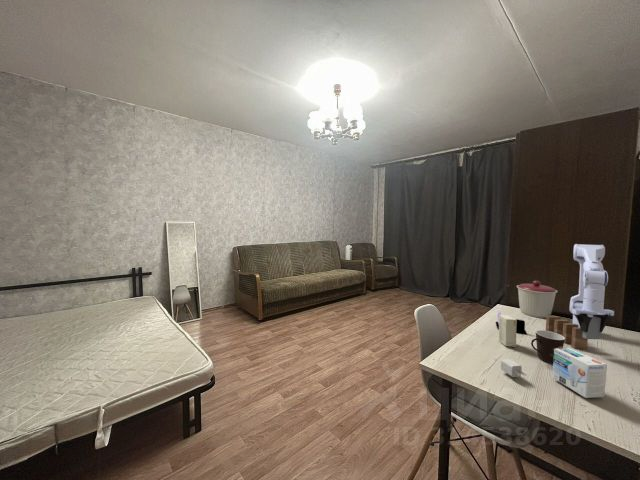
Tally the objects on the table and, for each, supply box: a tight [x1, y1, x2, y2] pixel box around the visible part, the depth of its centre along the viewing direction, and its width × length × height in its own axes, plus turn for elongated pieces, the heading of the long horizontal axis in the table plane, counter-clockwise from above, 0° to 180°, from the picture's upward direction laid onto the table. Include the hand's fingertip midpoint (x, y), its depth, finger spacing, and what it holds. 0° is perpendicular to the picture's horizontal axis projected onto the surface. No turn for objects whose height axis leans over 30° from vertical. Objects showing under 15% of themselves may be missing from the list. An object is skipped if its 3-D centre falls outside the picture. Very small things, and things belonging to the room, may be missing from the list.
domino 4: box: [570, 327, 589, 350], centre depth 107 cm, size 2×5×9 cm, turn 86°
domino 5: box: [582, 317, 601, 340], centre depth 102 cm, size 2×5×9 cm, turn 86°
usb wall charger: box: [500, 358, 527, 378], centre depth 88 cm, size 4×7×4 cm, turn 8°
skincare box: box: [498, 314, 517, 347], centre depth 111 cm, size 6×4×12 cm
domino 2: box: [554, 319, 570, 336], centre depth 116 cm, size 2×5×9 cm, turn 86°
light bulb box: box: [551, 347, 608, 399], centre depth 81 cm, size 11×7×11 cm, turn 5°
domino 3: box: [563, 322, 578, 345], centre depth 111 cm, size 2×5×9 cm, turn 86°
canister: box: [516, 280, 558, 319], centre depth 145 cm, size 18×18×21 cm
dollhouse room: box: [495, 311, 528, 335], centre depth 128 cm, size 12×12×7 cm
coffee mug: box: [530, 329, 565, 364], centre depth 99 cm, size 12×9×10 cm
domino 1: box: [545, 315, 561, 332], centre depth 120 cm, size 2×5×9 cm, turn 86°
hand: (591, 331), depth 102 cm, fingers closed on domino 5, 5 cm apart
